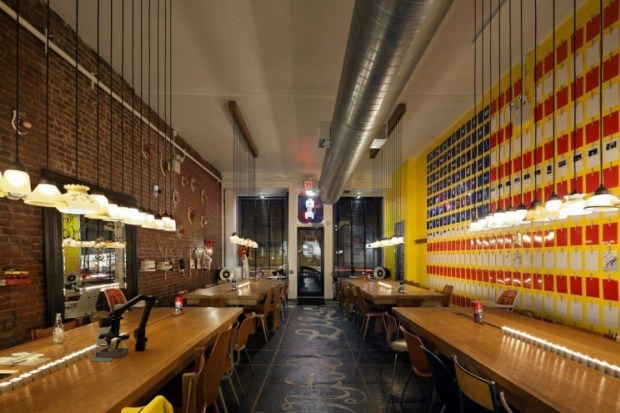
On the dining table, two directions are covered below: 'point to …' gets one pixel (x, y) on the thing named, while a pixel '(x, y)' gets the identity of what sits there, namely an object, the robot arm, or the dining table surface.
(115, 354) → the housing
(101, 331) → the milk carton
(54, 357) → the dining table surface
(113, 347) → the ash cube
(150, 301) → the robot arm
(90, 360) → the teal mat
